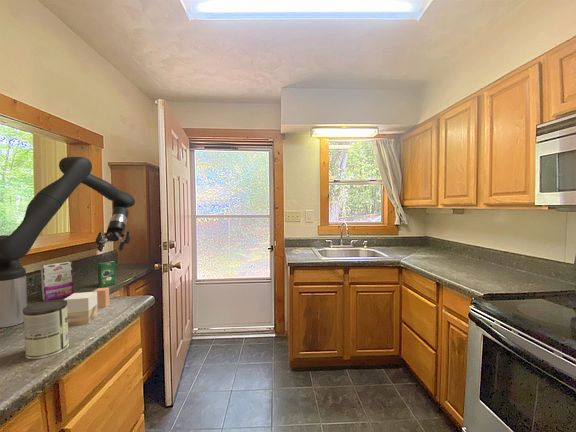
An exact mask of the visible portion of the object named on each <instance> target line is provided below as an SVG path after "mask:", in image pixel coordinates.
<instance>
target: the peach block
mask: <svg viewBox="0 0 576 432" xmlns="http://www.w3.org/2000/svg"><path fill="white" fill-rule="evenodd" d="M92 292H97V308H98V309H103V308H104V309H105V308H107V307H108V306H109V305H110V299H111V298H110V286H107V287H101V288H100V287H98V288H96V289H94V290H93V291H92Z"/></svg>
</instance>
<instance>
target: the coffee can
mask: <svg viewBox="0 0 576 432" xmlns="http://www.w3.org/2000/svg"><path fill="white" fill-rule="evenodd" d="M23 316H24V322H23V330H24V333H23V334H24V349H25V351H24V352H25V359H27V360H40V359H44V358H45V359H46V358H49V357H50V358H51V357H52V356H56V355H57V354H60V353H62V352H63V351H65V350H67V349H68V348H69V346H70V344H69V326H68V317H67V301H66V300H64V299H53V300H49V301H44V300H43V301H40V302H37V303H32V304H30V305H27V307H25V308H24V309H23Z"/></svg>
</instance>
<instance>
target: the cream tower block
mask: <svg viewBox="0 0 576 432" xmlns="http://www.w3.org/2000/svg"><path fill="white" fill-rule="evenodd" d="M63 300H66V301H67V313H73V312H84V311H89V310H91V309H92V308H93V307H94V306H95V305H97V292H93V291H86V292H85V291H84V292H73V294H72V295H70V296H67V297H64V299H63Z"/></svg>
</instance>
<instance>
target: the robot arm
mask: <svg viewBox="0 0 576 432" xmlns="http://www.w3.org/2000/svg"><path fill="white" fill-rule="evenodd" d="M58 167H59V170H60V172H61V173H62V174H63V175H61V177H60V178H58V179H56V180H55V181H53V182H52V183H50V184H48V185H46V186H45V187H43V188H42V189H40V190H39V191H38V192H37V194H35V195H34V197H33V198H32V199H31V200H30V202H29V203H28V204H27V207H26V210H25V214H24V217H23V220H22V221H21V223H20V224H19V225H18V226H17V227H16V229H14V230H13V231H12V233H11V234H8V235H7V234H2V235H0V328H7V327H8V328H9V327H12V326H17V325H19V324H24V316H23V309H24V308H25V307H27V306H28V291H27V290H28V287H27V269H26V268H25V267H23V266H22V264H21V263H20V259H23V258H24V257H25V256H26V255H27V254H28V253H29V251H30V250H31V249H32V247H33V245H34V244H35V243H36V240H37V239H38V237H39V236H40V234H41V232H42V231H43V230H44V229H45V228H46V226H47V225H48V224H49V223H50V221H51V220H52V219H53V217H54V216H55V215H56V214H57V212H58V211H59V210H60V209H61V207H63V205H64V204H65V202H66V201H67V200H68V198H69V197H70V196H71V195H72V194H73V192H74V191H75V190H76V189H77V187H78V186H79V185H80V184H83V185H85V186H87V187H89V188H90V189H92V190H93V191H95V192H97V193H99V194H100V195H102V196H103V197H104V198H105V199H107V200H109V201H112V208H113V209H112V210H113V212H112V214H111V215H112V216H111V218H110V219H109V222H108V225H107V228H106V229H107V230H106V232H105V233H104V232H103V233H102V232H101V231H100V232H98V233H97V236H96V238H95V243H96V245H97V249H98V251H99V252H101V253H102V252H103V250H104V245H106V244H109V243H110V242H111V243H112V242H119V247H118V250H119V251H120V252H121V251H123V250H124V247H125V245H126V244H127V245H128V244H130V242H131V233H130V231H126V227H127V223H128V222H127V221H128V218H129V210H128V208H132V207H133V206H134V205H135V204H136V199H135V198H134V196H133V195H132V194H131V193H128V192H125V191H124V190H120V189H118V187H115V186H114V185H113V184H111V183H110V182H108V181H106V180H104V179H102V178H100V177H98V176H96V175H94V174H91V172H92V170H93V164H92V162H91V160H90V159H89V158H87V157H85V156H84V157H83V156H66V157H63V158H61V159H60V161H59V163H58ZM125 231H126V232H125ZM123 237H125V239H123Z"/></svg>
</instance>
